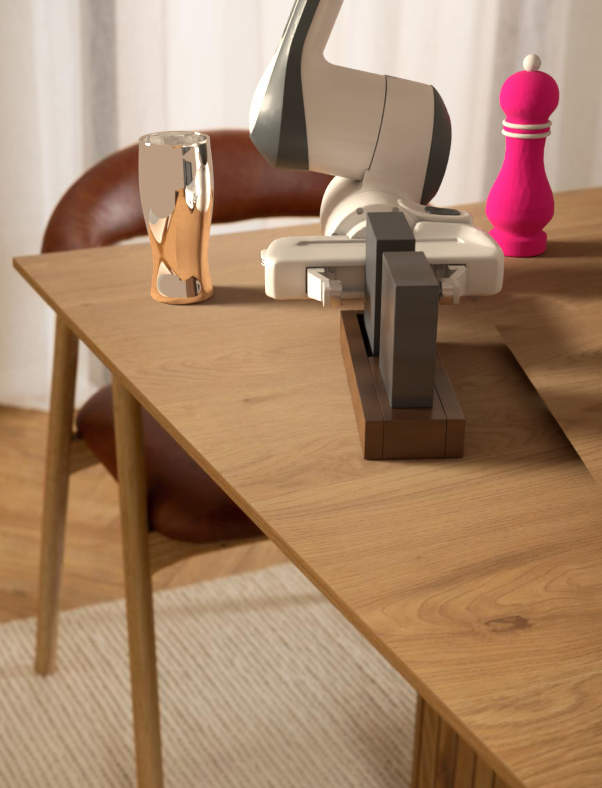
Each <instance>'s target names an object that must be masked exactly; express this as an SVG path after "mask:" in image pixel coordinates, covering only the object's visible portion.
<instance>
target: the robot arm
mask: <svg viewBox="0 0 602 788" xmlns="http://www.w3.org/2000/svg"><path fill="white" fill-rule="evenodd" d="M344 1H345V0H294V2H293V4H292V7H291V9H290V12H289V15H288V18H287V21H286V23H285V27H284V29H283V32H282V34H281V37H280V39H279V42H278V44H277V48H276V49H275V51H274V54H273V56H272V58H271V60H270V62H269V64H268V65H267V67H266V69H265V70H264V73H263V74H262V76H261V78H260V79H259V81H258V83H257V86H256V88H255V91H254V94H253V96H252V100H251V103H250V109H249V115H248V128H249V135H248V137H249V139H250V140H251V142H252V144H253V145H254V147H255V148H256V150H257V151H258V153H259V154H260V155H261V156H262V158H263V159H265V161H266V162H267V163H268V164H269V165H270V166H271V167H272V168H273V169H276V170H285V171H293V172H294V171H295V172H304V173H309V172H315V173H319V174H325V175H328V176H329V175H330V176H334V177H333V178H332V180H331V181H330V182H329V184H328V185H327V187H326V189H325V190H324V191H325V192H324V194H323V197H322V200H321V205H320V209H319V210H320V211H319V226H320V227H319V228H320V233H321V235H305V236H304V235H300V236H299V235H298V236H297V235H295V236H292V235H291V236H284V237H279V238H276V239H274V240H273V241H271V243H270V244H269V245H268V246H267V248H263V249H262V250H261V251H260V254H259V261H260V264H261V265H262V266H263V267H264V287H265V288H264V289H265V290H264V293H265V295H266V296H267V297H269V298H272V299H275V300H279V301H284V300H286V301H288V300H315V301H319V302H322V306H323V308H342V307H343V299H364V298H365V265H366V260H365V254H366V215H367V212H403V213H404V215H405V217H406V220H407V222H408V224H409V226H410V228H411V231H412V233H413V235H414V237H415V239H416V245H415V251H423V252H424V254H425V256H426V258H427V260H428V262H429V265H430V267H431V269H432V271H433V273H434V275H435V277H436V279H437V281H438V284H439V286H440V289H439V304H440V306H442V305H443V306H444V305H445V306H452V305H453V306H454V305H459V304H460V298H461V297H477V296H478V297H479V296H481V297H484V296H485V297H486V296H488V297H490V296H494V295H496V294H498V293H500V292H501V291H502V288H503V283H504V275H505V274H504V273H505V256H504V253H503V251H502V249H501V247H500V246H499V245H498V243H497V242H496V241H495V240H494V238H493V237H492V236H491V235H490V234H489V233H488V232H489V231H486V230H485V229H484V228H482V227H480V226H477V225H474V216H473V214H472V213H471V212H469V211H467V210H463V209H455V208H446V207H439V206H429V204H430V203H431V201H433V199H434V198H435V197H436V196H437V195H438V192H439V191H440V188H441V186H442V183H443V180H444V177H445V175H446V172H447V169H448V164H449V160H450V154H451V150H452V149H451V147H452V142H453V141H452V139H453V136H452V135H453V131H452V120H451V116H450V113H449V111H448V109H447V106H446V104H445V101H444V99H443V97H442V96H441V94H440V93H439V91H438V90H437V89H436V87H435V86H433V85H432V84H428V83H423V82H419V81H415V80H412V79H411V80H410V79H408V78H402V77H397V76H394V75H393V76H392V75H389V74H380V73H379V74H378V73H374V72H369V71H364V70H360V69H356V68H352V67H347V66H341V65H338V64H333V63H332V62H329V61H328V60H327V59H326V57H325V55H324V52H325V49H326V46H327V44H328V41H329V39H330V36H331V34H332V31H333V29H334V26H335V24H336V21H337V18H338V16H339V13H340V11H341V9H342V6H343V4H344Z"/></svg>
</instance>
